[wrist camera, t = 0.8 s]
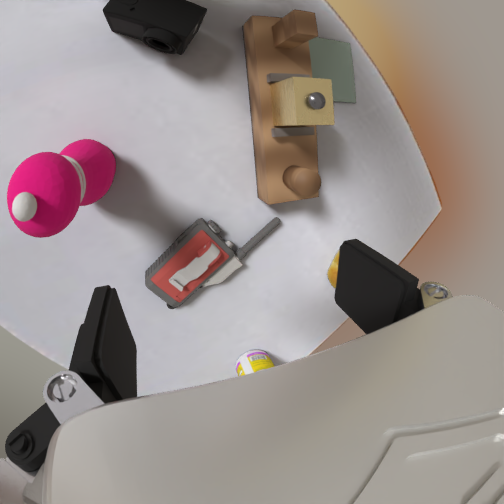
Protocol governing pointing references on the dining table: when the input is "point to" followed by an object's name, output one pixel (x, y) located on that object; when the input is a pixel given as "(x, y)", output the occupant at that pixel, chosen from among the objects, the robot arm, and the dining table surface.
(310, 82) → the lever cap
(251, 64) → the plane body
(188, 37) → the digital camera
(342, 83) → the felt pad
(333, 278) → the bread roll
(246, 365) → the supplement bottle
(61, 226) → the pepper mill
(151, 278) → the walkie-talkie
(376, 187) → the dining table surface
